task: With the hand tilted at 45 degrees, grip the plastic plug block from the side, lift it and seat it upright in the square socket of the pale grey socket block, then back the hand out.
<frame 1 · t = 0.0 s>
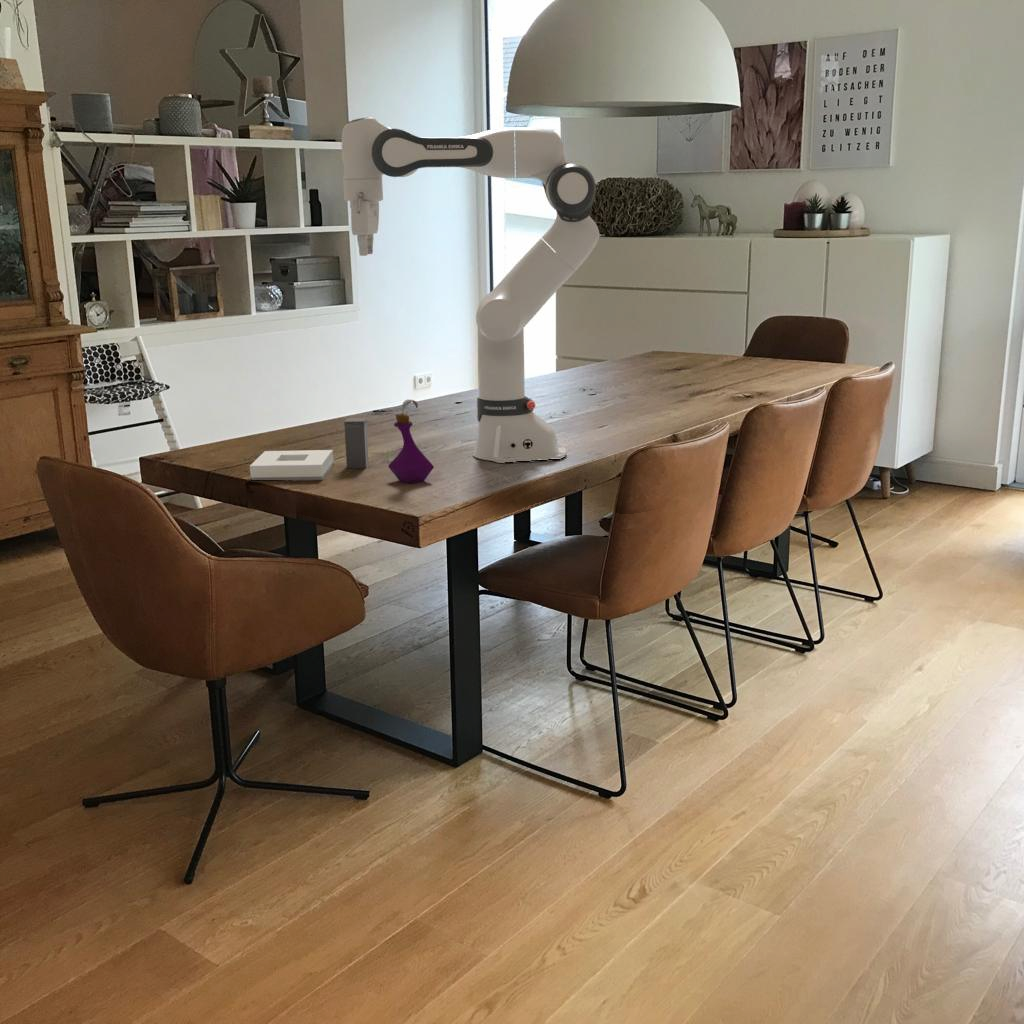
hand: (366, 254, 264), 48 cm above the table, tool pointing down, fingers open, 8 cm apart
socket block: (293, 472, 262), on the table
perfume bottle: (411, 481, 252), on the table
plug: (357, 466, 268), on the table
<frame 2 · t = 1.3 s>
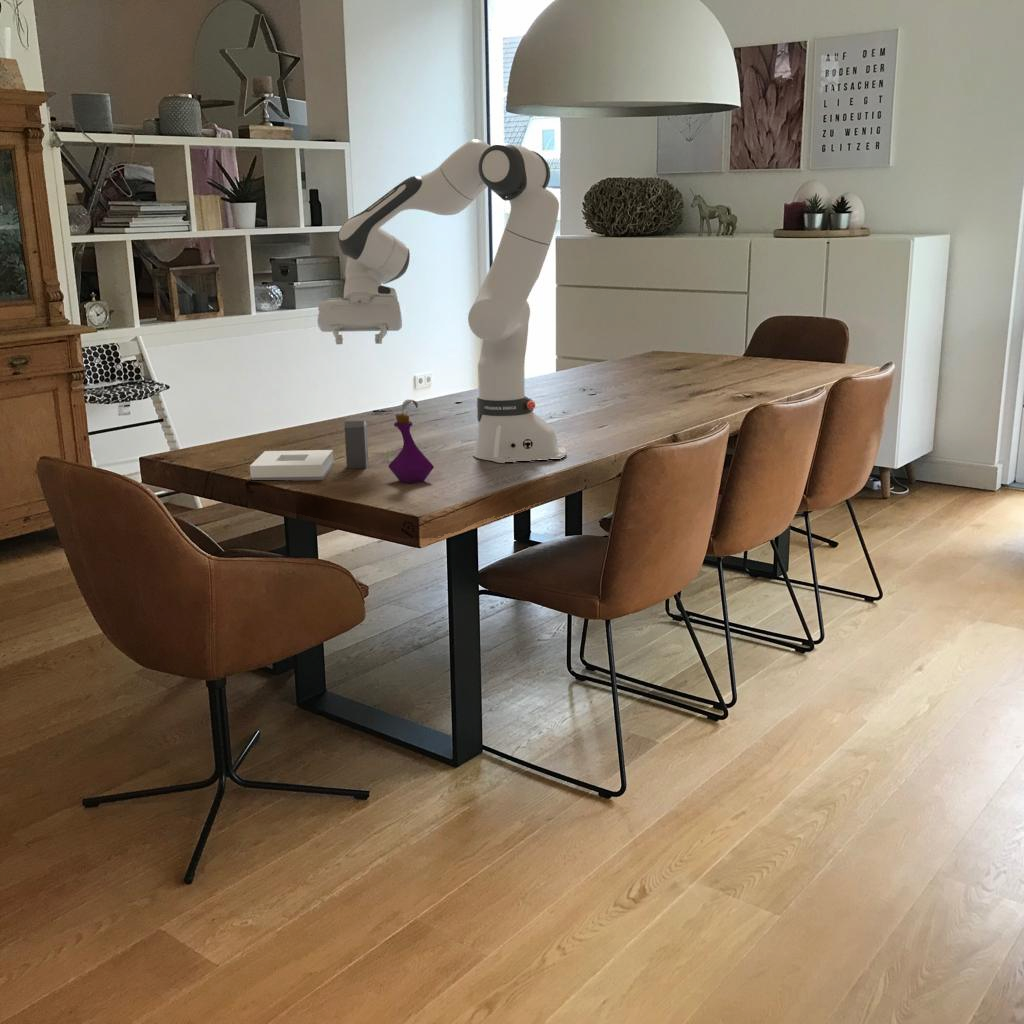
hand: (358, 342, 273), 27 cm above the table, tool tilted 45°, fingers open, 8 cm apart
nothing on the table moved.
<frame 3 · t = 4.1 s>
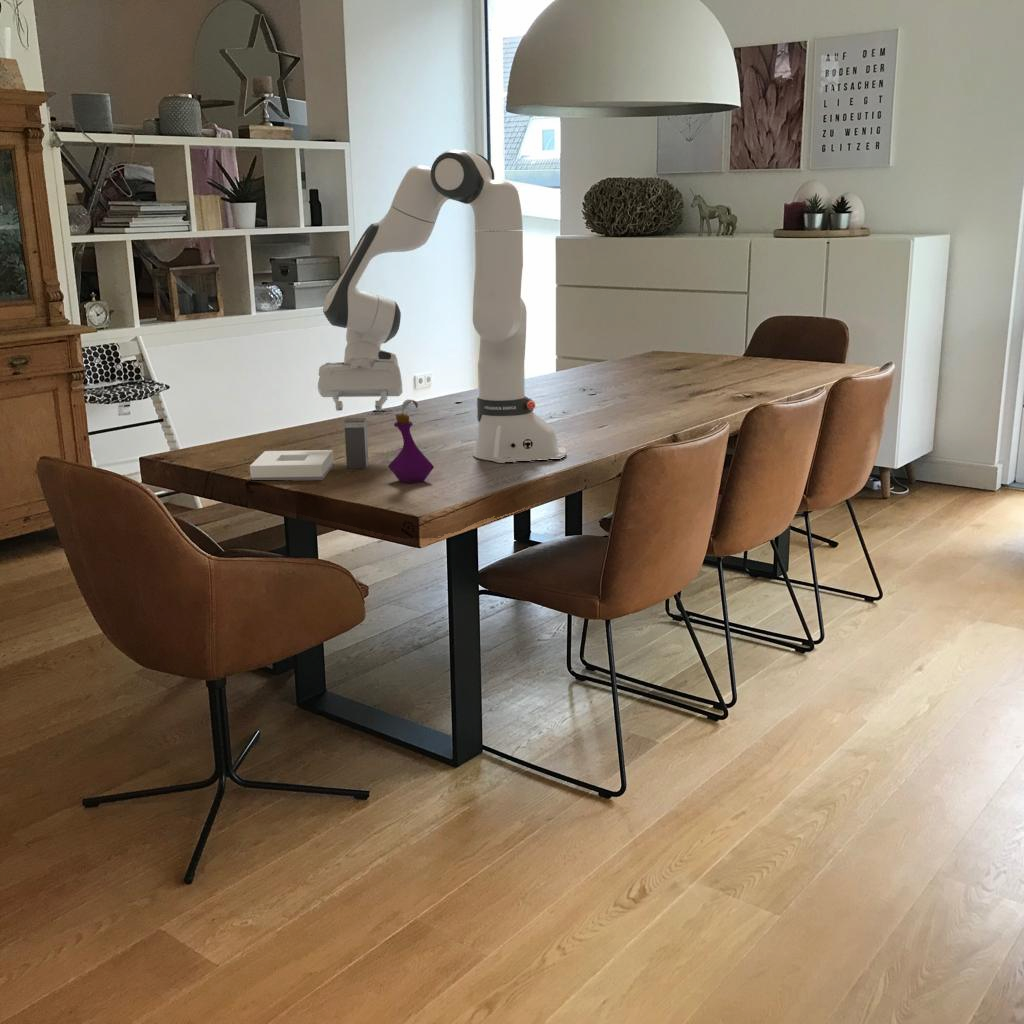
hand: (358, 409, 272), 12 cm above the table, tool tilted 45°, fingers open, 8 cm apart
nothing on the table moved.
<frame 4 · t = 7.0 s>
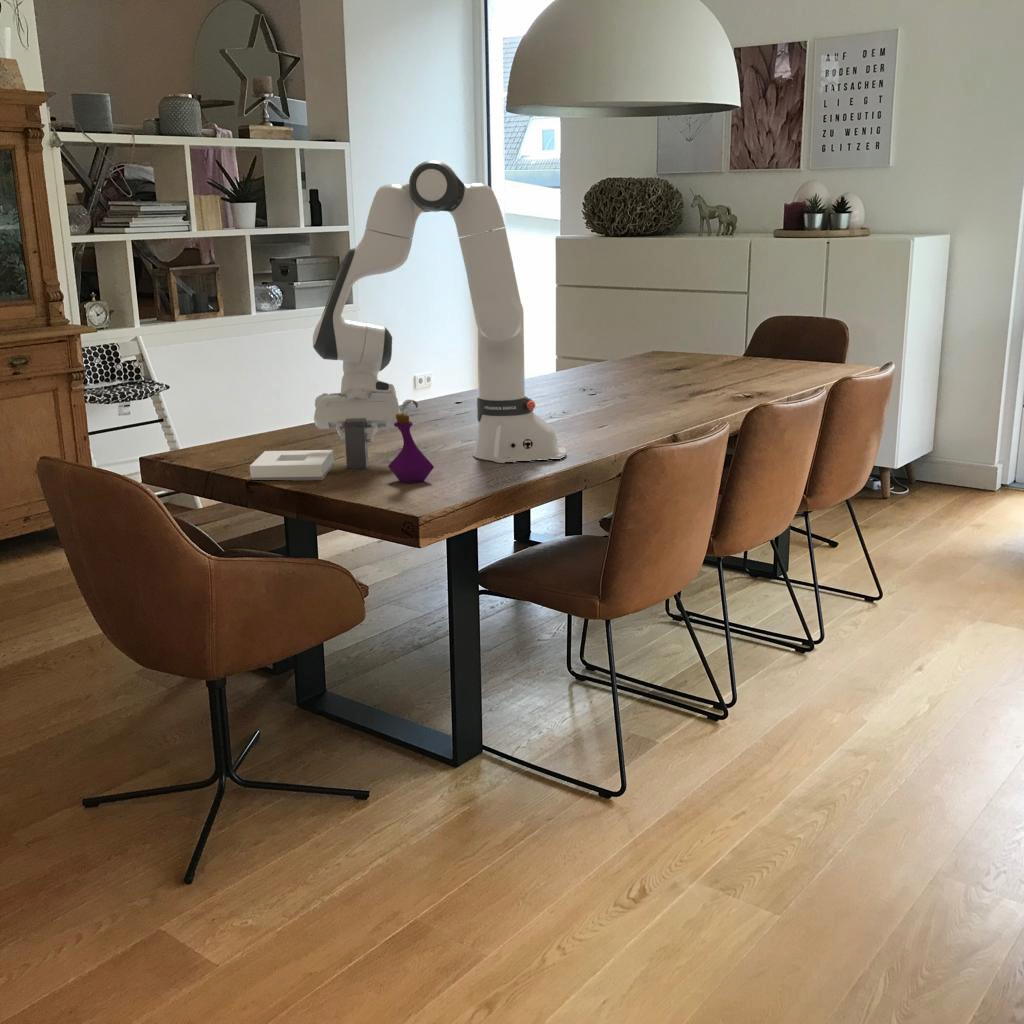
hand: (356, 441, 266), 6 cm above the table, tool tilted 45°, fingers closed on plug, 4 cm apart
plug: (357, 465, 268), on the table, touching gripper
everything else where it was.
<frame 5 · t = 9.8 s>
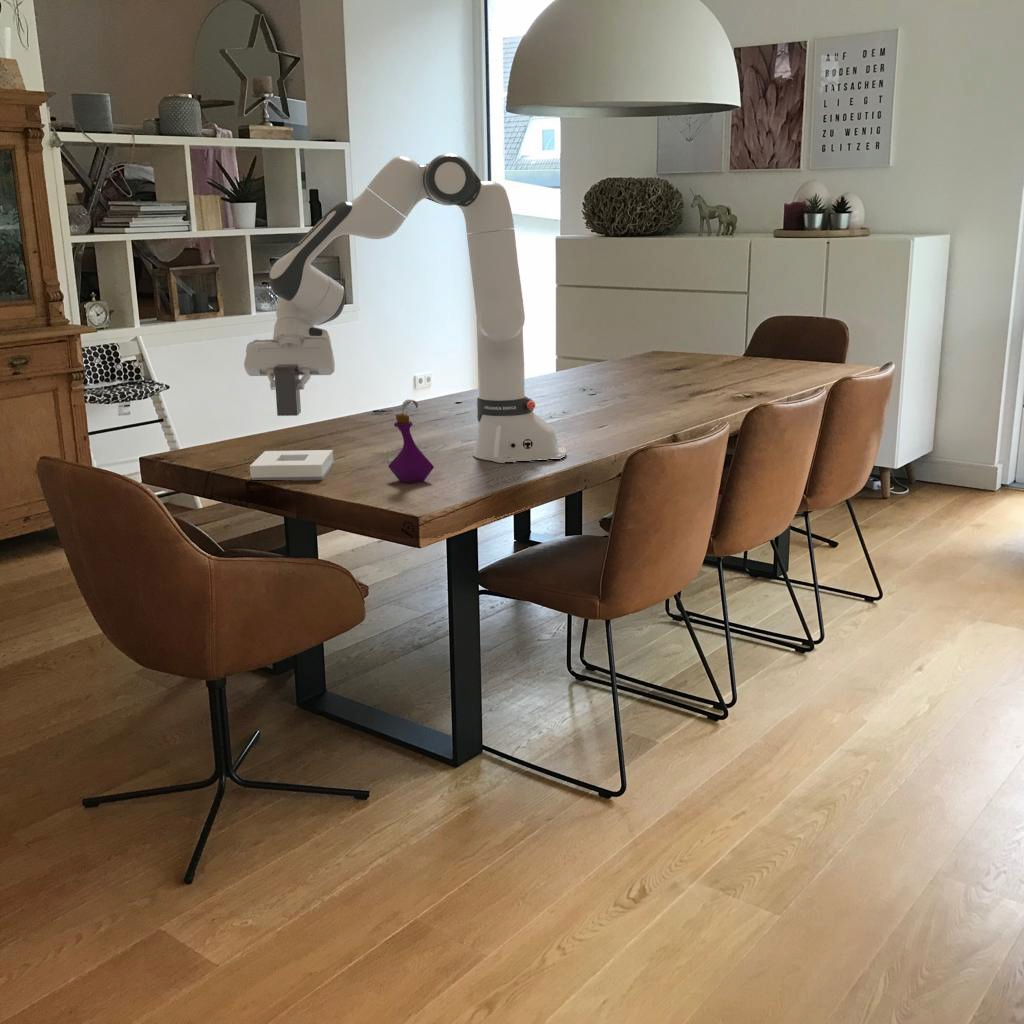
hand: (287, 388, 256), 20 cm above the table, tool tilted 45°, fingers closed on plug, 4 cm apart
plug: (289, 414, 259), point 14 cm above the table, touching gripper
everything else where it was.
when the fingers open (8 cm above the table, at t = 12.9 s): plug stays where it is, resting on socket block.
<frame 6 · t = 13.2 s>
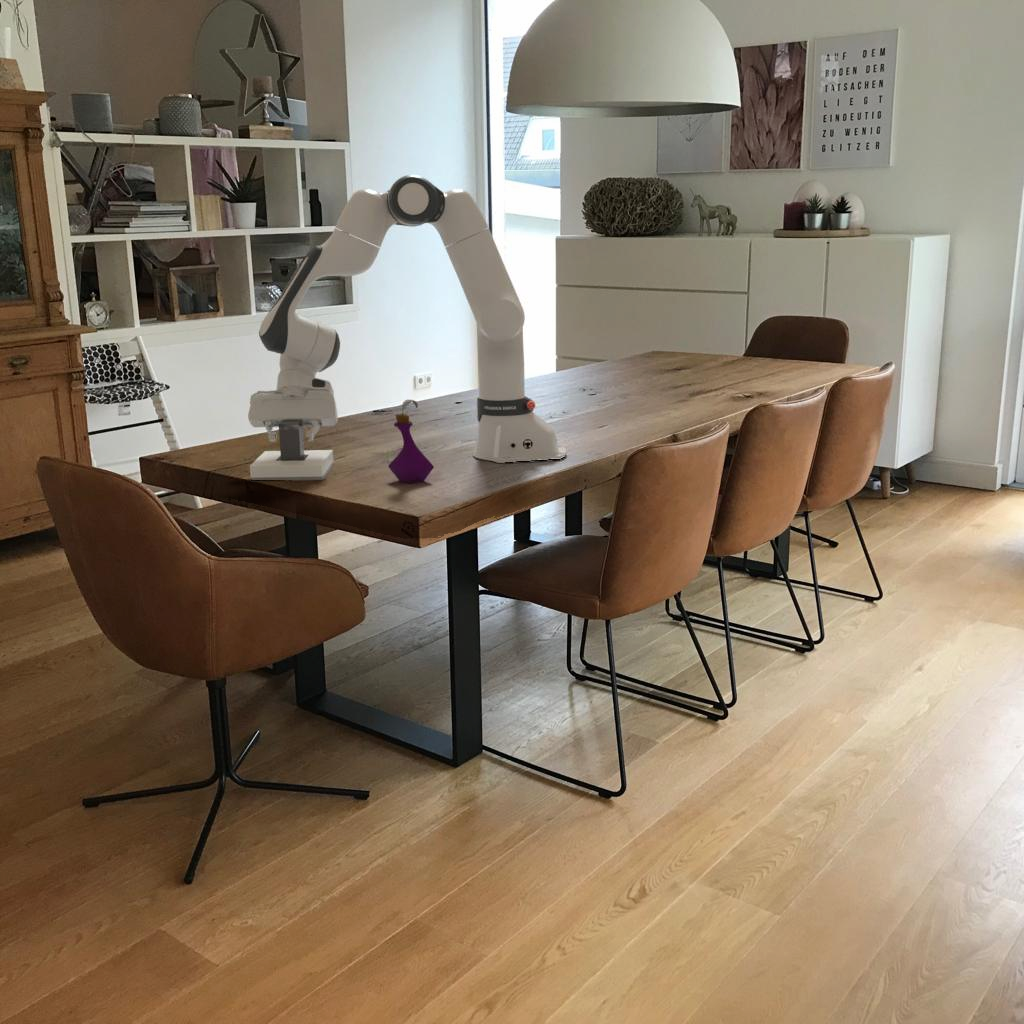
hand: (290, 439, 259), 8 cm above the table, tool tilted 45°, fingers open, 7 cm apart
plug: (293, 469, 262), point 1 cm above the table, touching socket block
everything else where it was.
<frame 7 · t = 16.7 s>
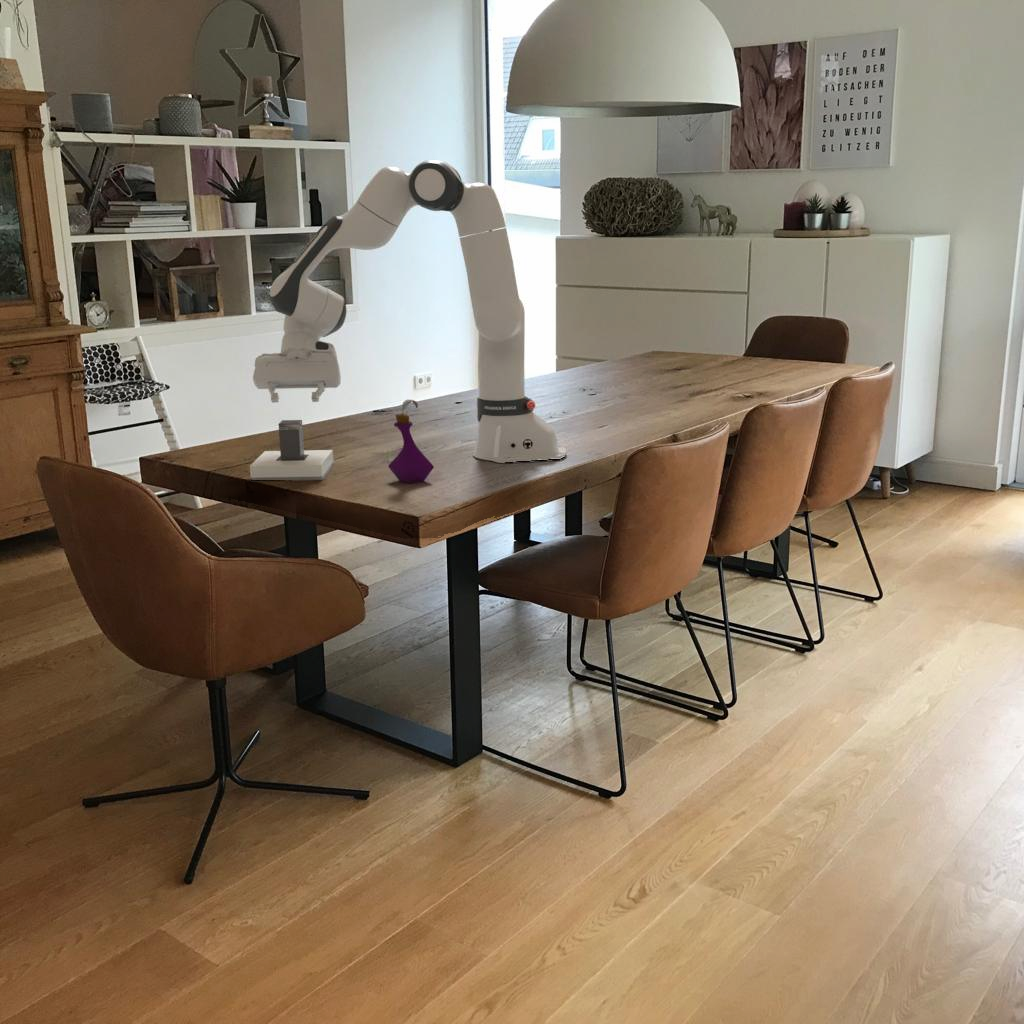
hand: (294, 400, 265), 15 cm above the table, tool tilted 45°, fingers open, 8 cm apart
nothing on the table moved.
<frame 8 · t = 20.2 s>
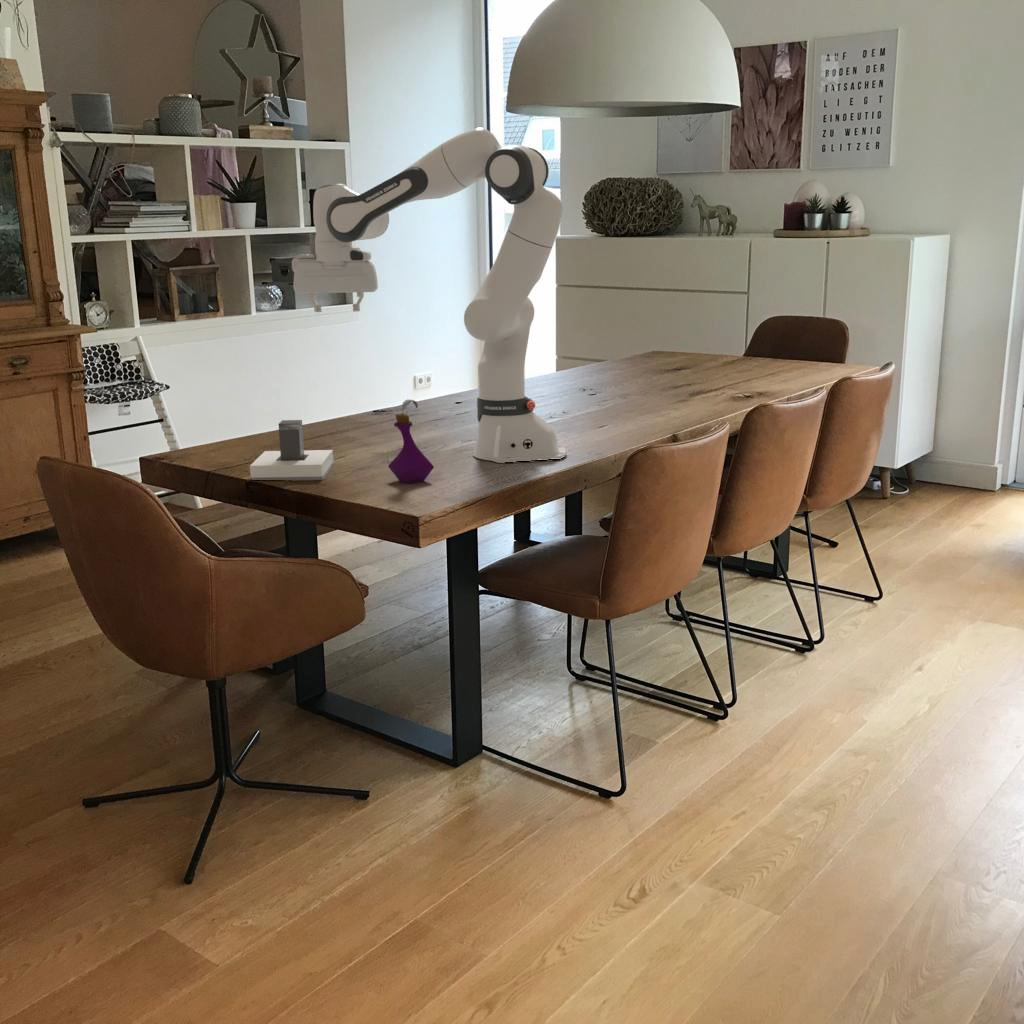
hand: (337, 311, 279), 34 cm above the table, tool pointing down, fingers open, 8 cm apart
nothing on the table moved.
at the end: plug 0.1 cm off-centre on the socket block, point 0.8 cm above the socket block's base; plug tilted 0°; the gripper is holding nothing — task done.
